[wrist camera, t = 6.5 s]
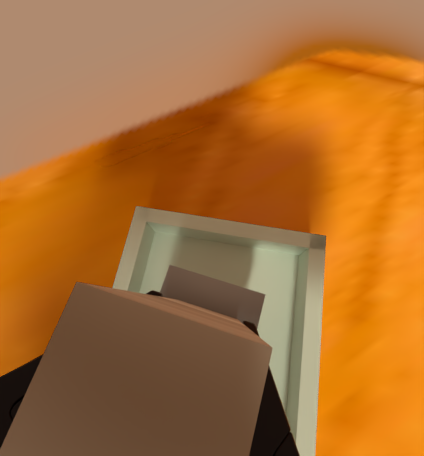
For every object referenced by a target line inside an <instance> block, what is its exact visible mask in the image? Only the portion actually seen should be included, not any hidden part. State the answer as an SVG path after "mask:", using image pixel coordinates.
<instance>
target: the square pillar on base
mask: <svg viewBox="0 0 424 456" xmlns="http://www.w3.org/2000/svg"><path fill="white" fill-rule="evenodd" d="M160 293H162V295H163V297H160V296H154V295H148V294H143V293H137V292H131V291H126V290H120V289H114V288H109V287H103V286H97V285H92V284H86V283H80V282H76V284H75V286H74V289H73V291H72V293H71V295H70V297H69V300H68V302H67V304H66V306H65V308H64V311H63V313H62V315H61V317H60V319H59V321H58V324H57V326H56V328H55V330H54V332H53V335H52V337H51V339H50V341H49V343H48V346H47V348H46V350H45V352H44V354H43V357H42V359H41V361H40V363H39V365H38V367H37V370H36V372H35V374H34V376H33V378H32V381H31V383H30V385H29V387H28V389H27V392H26V394H25V396H24V398H23V400H22V402H21V405H20V407H19V409H18V411H17V413H16V416H15V418H14V420H13V422H12V424H11V427H10V429H9V431H8V433H7V435H6V438H5V440H4V442H3V444H2V446H1V448H0V456H249V453H250V449H251V444H252V440H253V435H254V431H255V426H256V422H257V417H258V413H259V408H260V403H261V399H262V394H263V390H264V385H265V381H266V376H267V372H268V367H269V363H270V358H271V354H272V349H273V348H272V347H271V346H270V345H269V344H267V343H266V342H265V341H264V340H262V339H261V338H260V337H259V336H257V335H256V334H255V333H254V332H253V331H251V330H250V329H249V328H248V327H246V326H245V325H244V324H242V323H243V321H244V320H246V321H249V322H252V323H254V324H255V325H256V328H258V324H259V320H260V316H261V311H262V307H263V303H264V299H265V295H266V294H263V293H259V292H256V291H253V290H250V289H246V288H243V287H240V286H237V285H234V284H230V283H227V282H224V281H221V280H217V279H214V278H211V277H208V276H205V275H201V274H198V273H195V272H192V271H188V270H185V269H182V268H179V267H176V266H172V265H169V268H168V271H167V274H166V276H165V279H164V282H163V285H162V288H161V290H160Z"/></svg>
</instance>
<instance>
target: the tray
mask: <svg viewBox="0 0 424 456" xmlns="http://www.w3.org/2000/svg"><path fill="white" fill-rule="evenodd" d="M325 246H326V236H324V235H318V234H311V233H305V232H299V231H292V230H286V229H280V228H273V227H267V226H260V225H254V224H248V223H241V222H235V221H229V220H222V219H216V218H210V217H203V216H197V215H191V214H184V213H178V212H172V211H165V210H159V209H153V208H146V207H140V206H136V209H135V212H134V216H133V219H132V223H131V226H130V229H129V233H128V236H127V240H126V243H125V246H124V250H123V253H122V257H121V260H120V264H119V267H118V270H117V274H116V277H115V281H114V284H113V287H112V288H114V289H120V290H126V291H131V292H137V293H143V294H146V293H148V292H149V291H152V290H154V291H157V292H160V290H161V288H162V285H163V282H164V279H165V276H166V274H167V271H168V268H169V265H172V266H176V267H179V268H182V269H185V270H188V271H192V272H195V273H198V274H201V275H205V276H208V277H211V278H214V279H217V280H221V281H224V282H227V283H230V284H234V285H237V286H240V287H243V288H246V289H250V290H253V291H256V292H259V293H263V294H266V295H265V299H264V303H263V307H262V311H261V316H260V320H259V324H258V328H257V331H258V334H259V337H260V338H261V339H262V340H264V341H265V342H266V343H267V344H269V345H270V346H271V347H272V348H273V349H272V354H271V358H270V363H269V366H270V369H271V372H272V375H273V378H274V381H275V384H276V387H277V390H278V393H279V396H280V399H281V402H282V405H283V408H284V411H285V414H286V417H287V420H288V423H289V426H290V429H291V431H290V432H291V433H292V434H293V437H294V440H295V443H296V446H297V449H298V452H299V455H300V456H315V447H316V427H317V407H318V386H319V366H320V346H321V326H322V306H323V286H324V266H325Z"/></svg>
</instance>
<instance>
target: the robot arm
mask: <svg viewBox="0 0 424 456" xmlns="http://www.w3.org/2000/svg"><path fill="white" fill-rule="evenodd" d="M146 294H148V295H154V296H160V297H163V295H162V293H160V292H157V291H154V290H152V291H149V292H148V293H146ZM242 324H244V325H245V326H246V327H248V328H249V329H250V330H251V331H253V332H254V333H255V334H256V335H257V336H259V334H258V331H257V328H256V325H255V324H254V323H252V322H249V321H246V320H244V321H243V323H242ZM42 357H43V354H42V355H41V356H39V357H37V358H35V359H34V360H32V361H30V362H28V363H26V364H24V365H22V366H21V367H19V368H17V369H15V370H13V371H11V372H9V373H7V374H5V375H3V376H1V377H0V448H1V446H2V444H3V442H4V440H5V438H6V435H7V433H8V431H9V429H10V427H11V424H12V422H13V420H14V418H15V416H16V413H17V411H18V409H19V407H20V405H21V402H22V400H23V398H24V396H25V394H26V392H27V389H28V387H29V385H30V383H31V381H32V378H33V376H34V374H35V372H36V370H37V367H38V365H39V363H40V361H41V359H42ZM290 431H291V429H290V426H289V423H288V420H287V417H286V414H285V411H284V408H283V405H282V402H281V399H280V396H279V393H278V390H277V387H276V384H275V381H274V378H273V375H272V372H271V369H270V366H269V367H268V372H267V376H266V381H265V385H264V390H263V394H262V399H261V403H260V408H259V413H258V417H257V422H256V426H255V431H254V435H253V440H252V444H251V449H250V453H249V456H300V455H299V452H298V449H297V446H296V443H295V440H294V437H293V434H292V433H291V432H290Z"/></svg>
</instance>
